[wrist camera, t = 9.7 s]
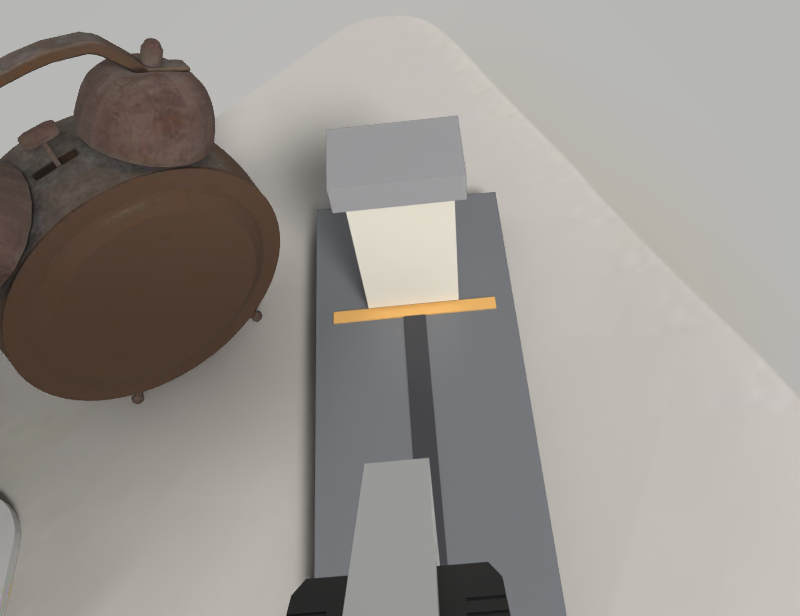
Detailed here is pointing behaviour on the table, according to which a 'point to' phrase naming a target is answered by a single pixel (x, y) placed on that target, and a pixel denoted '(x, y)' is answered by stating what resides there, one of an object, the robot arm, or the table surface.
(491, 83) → the table surface
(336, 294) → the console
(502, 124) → the table surface
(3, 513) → the network device
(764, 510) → the table surface
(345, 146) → the fader tab
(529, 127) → the table surface
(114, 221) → the alarm clock
